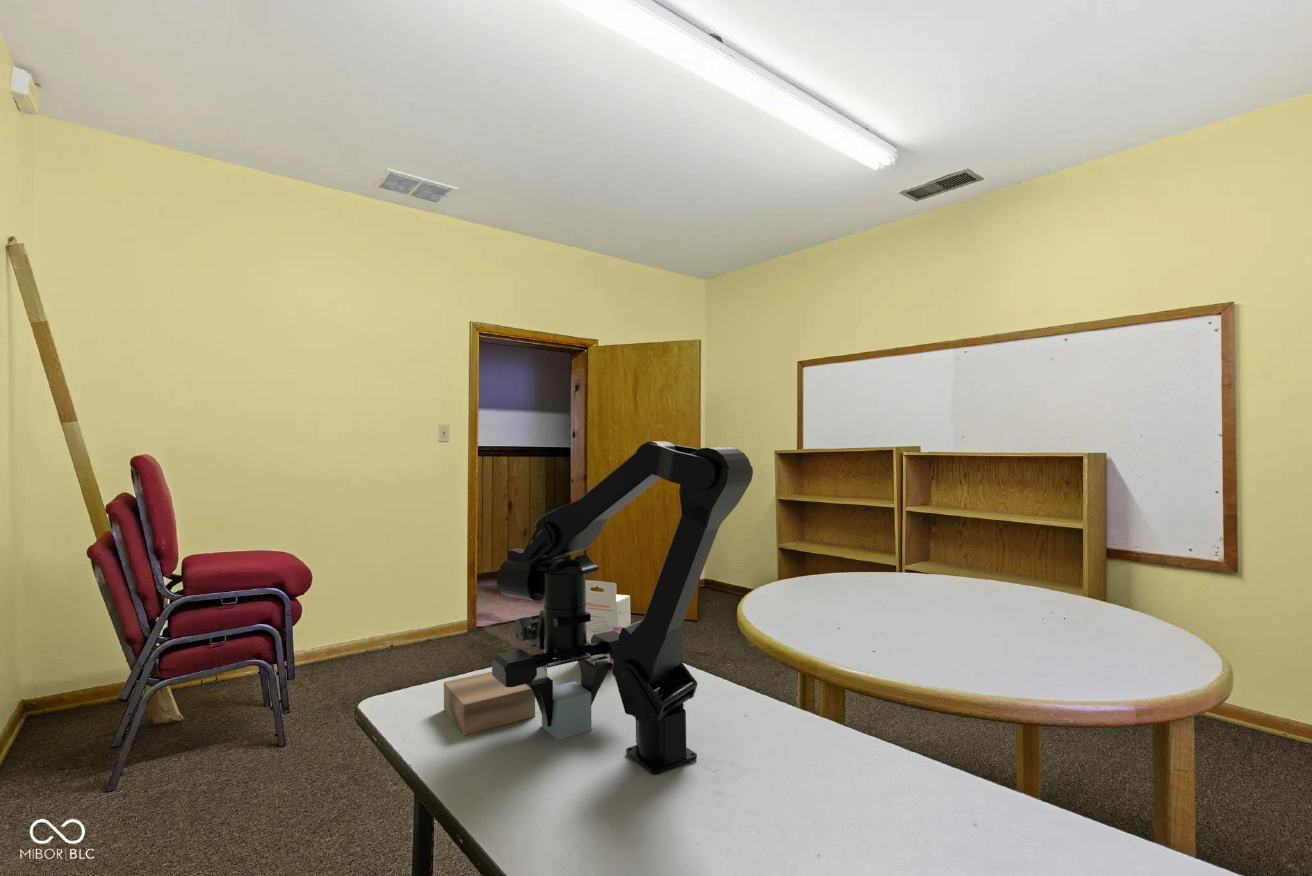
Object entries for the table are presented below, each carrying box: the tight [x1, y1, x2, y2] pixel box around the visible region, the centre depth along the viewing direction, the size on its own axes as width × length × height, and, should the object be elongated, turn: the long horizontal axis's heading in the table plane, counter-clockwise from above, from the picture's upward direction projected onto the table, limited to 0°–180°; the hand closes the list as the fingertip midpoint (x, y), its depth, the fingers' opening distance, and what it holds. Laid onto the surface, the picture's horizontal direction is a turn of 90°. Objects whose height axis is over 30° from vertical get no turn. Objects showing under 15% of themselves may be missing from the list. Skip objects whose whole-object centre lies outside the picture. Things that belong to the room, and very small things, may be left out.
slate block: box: [541, 681, 593, 741], centre depth 84 cm, size 5×5×5 cm
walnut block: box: [443, 671, 536, 736], centre depth 90 cm, size 10×10×4 cm
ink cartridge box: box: [586, 579, 632, 664], centre depth 111 cm, size 9×5×15 cm, turn 62°
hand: (566, 720), depth 84 cm, fingers closed on slate block, 5 cm apart
